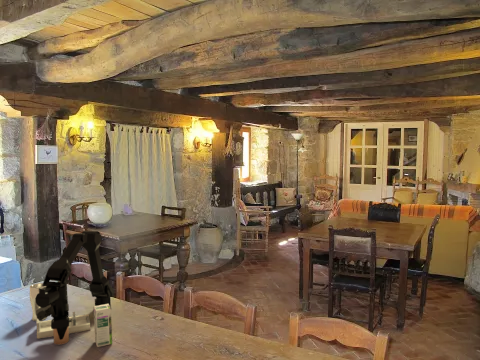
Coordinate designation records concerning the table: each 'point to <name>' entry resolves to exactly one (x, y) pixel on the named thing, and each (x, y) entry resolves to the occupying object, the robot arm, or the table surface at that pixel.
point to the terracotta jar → (64, 340)
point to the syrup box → (102, 325)
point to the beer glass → (33, 293)
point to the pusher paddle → (73, 319)
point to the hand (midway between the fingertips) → (61, 336)
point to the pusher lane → (81, 325)
